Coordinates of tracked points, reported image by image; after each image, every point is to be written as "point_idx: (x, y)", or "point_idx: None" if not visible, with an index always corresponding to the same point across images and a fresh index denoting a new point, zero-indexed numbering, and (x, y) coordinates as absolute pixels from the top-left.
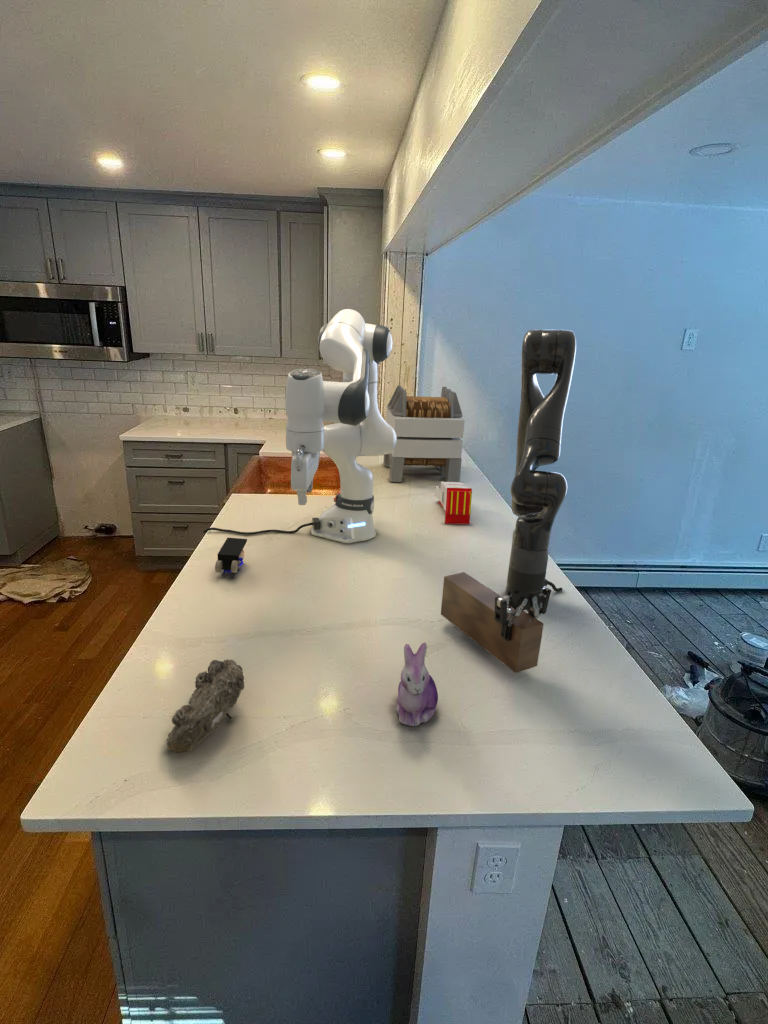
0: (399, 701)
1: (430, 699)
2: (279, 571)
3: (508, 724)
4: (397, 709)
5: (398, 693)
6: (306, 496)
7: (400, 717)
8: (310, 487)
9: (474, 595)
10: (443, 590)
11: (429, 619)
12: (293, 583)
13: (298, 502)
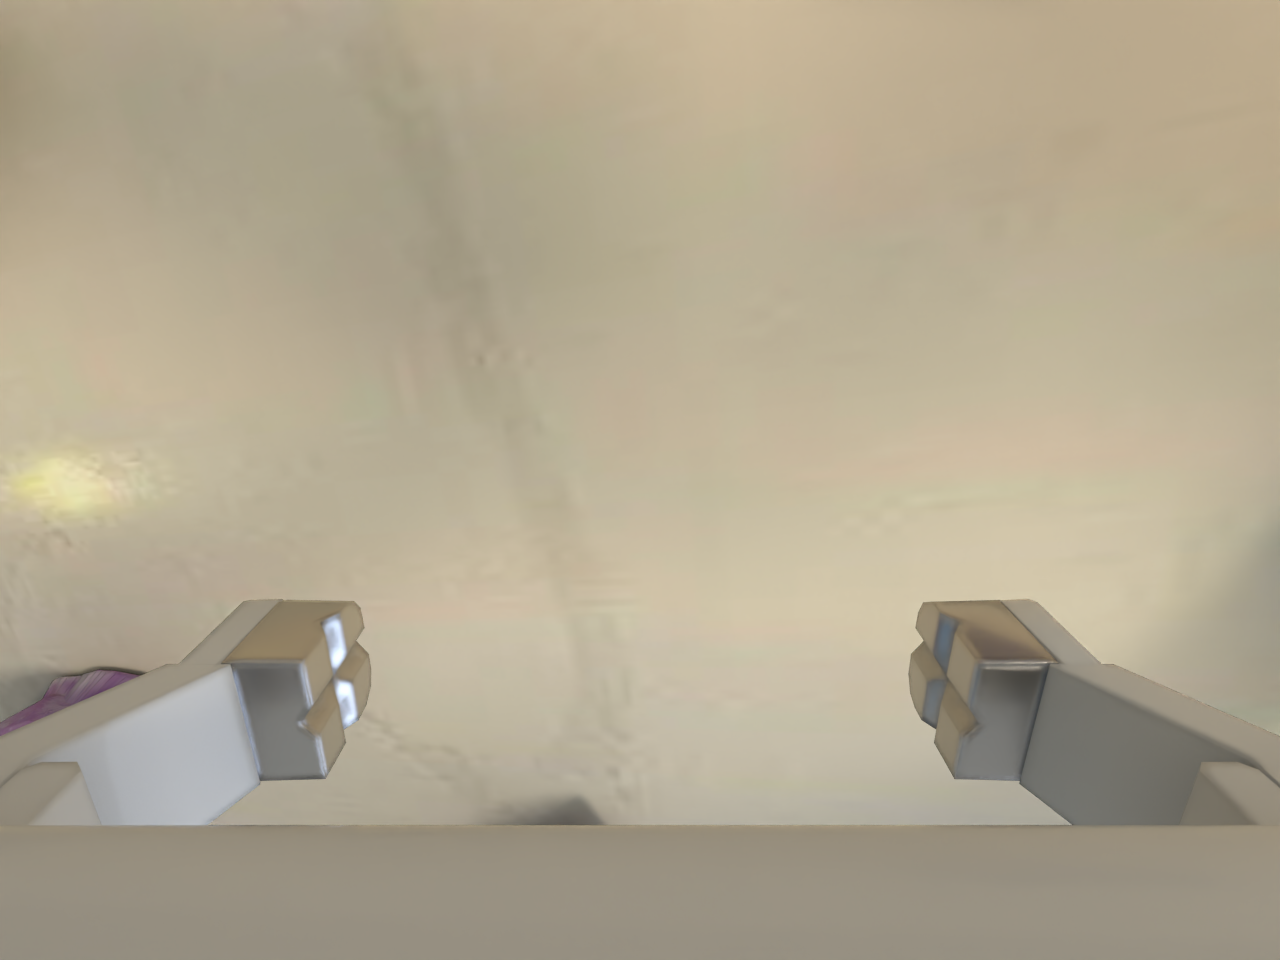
0: (11, 716)
1: None
2: (1087, 98)
3: None
4: (82, 679)
5: (18, 723)
6: (298, 779)
7: (50, 686)
8: (945, 740)
9: None
10: None
11: (628, 765)
12: (929, 212)
13: (237, 613)
